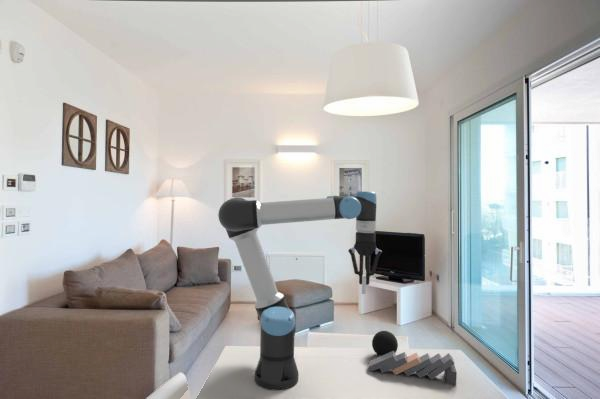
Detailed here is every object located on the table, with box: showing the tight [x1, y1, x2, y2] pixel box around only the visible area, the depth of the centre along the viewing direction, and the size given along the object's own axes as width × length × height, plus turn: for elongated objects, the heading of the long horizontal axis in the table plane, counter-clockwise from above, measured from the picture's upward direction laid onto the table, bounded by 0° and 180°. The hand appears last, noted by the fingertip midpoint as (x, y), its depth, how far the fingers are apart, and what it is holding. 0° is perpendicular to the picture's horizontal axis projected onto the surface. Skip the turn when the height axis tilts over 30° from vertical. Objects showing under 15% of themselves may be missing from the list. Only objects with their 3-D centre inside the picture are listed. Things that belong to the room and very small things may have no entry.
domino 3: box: [391, 352, 421, 376], centre depth 142 cm, size 2×5×10 cm
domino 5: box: [415, 352, 444, 379], centre depth 141 cm, size 2×5×10 cm
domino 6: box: [427, 353, 455, 380], centre depth 140 cm, size 2×5×10 cm
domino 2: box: [379, 352, 408, 374], centre depth 144 cm, size 2×5×10 cm
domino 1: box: [368, 351, 397, 372], centre depth 145 cm, size 2×5×10 cm
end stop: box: [443, 364, 457, 386], centre depth 139 cm, size 3×8×4 cm, turn 166°
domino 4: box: [403, 353, 432, 377], centre depth 142 cm, size 2×5×10 cm
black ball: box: [371, 330, 399, 357], centre depth 157 cm, size 10×10×10 cm
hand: (364, 292), depth 152 cm, fingers closed
